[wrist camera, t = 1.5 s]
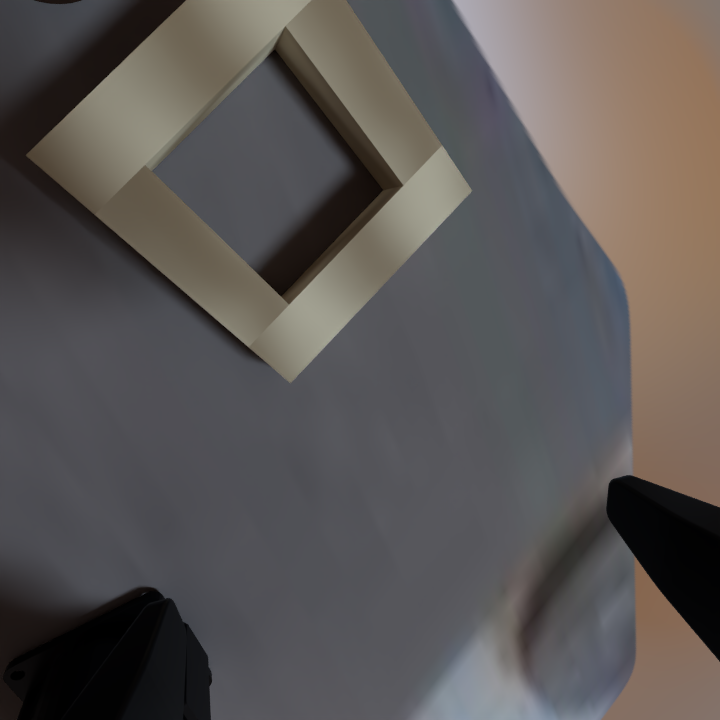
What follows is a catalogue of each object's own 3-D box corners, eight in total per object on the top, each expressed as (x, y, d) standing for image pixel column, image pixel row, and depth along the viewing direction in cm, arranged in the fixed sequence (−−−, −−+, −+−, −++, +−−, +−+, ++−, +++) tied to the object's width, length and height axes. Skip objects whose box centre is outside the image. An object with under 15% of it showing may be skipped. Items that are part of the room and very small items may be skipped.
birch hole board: (280, 369, 19) (290, 383, 18) (46, 164, 15) (25, 155, 13) (446, 194, 20) (472, 190, 18) (272, -56, 15) (283, -94, 13)
